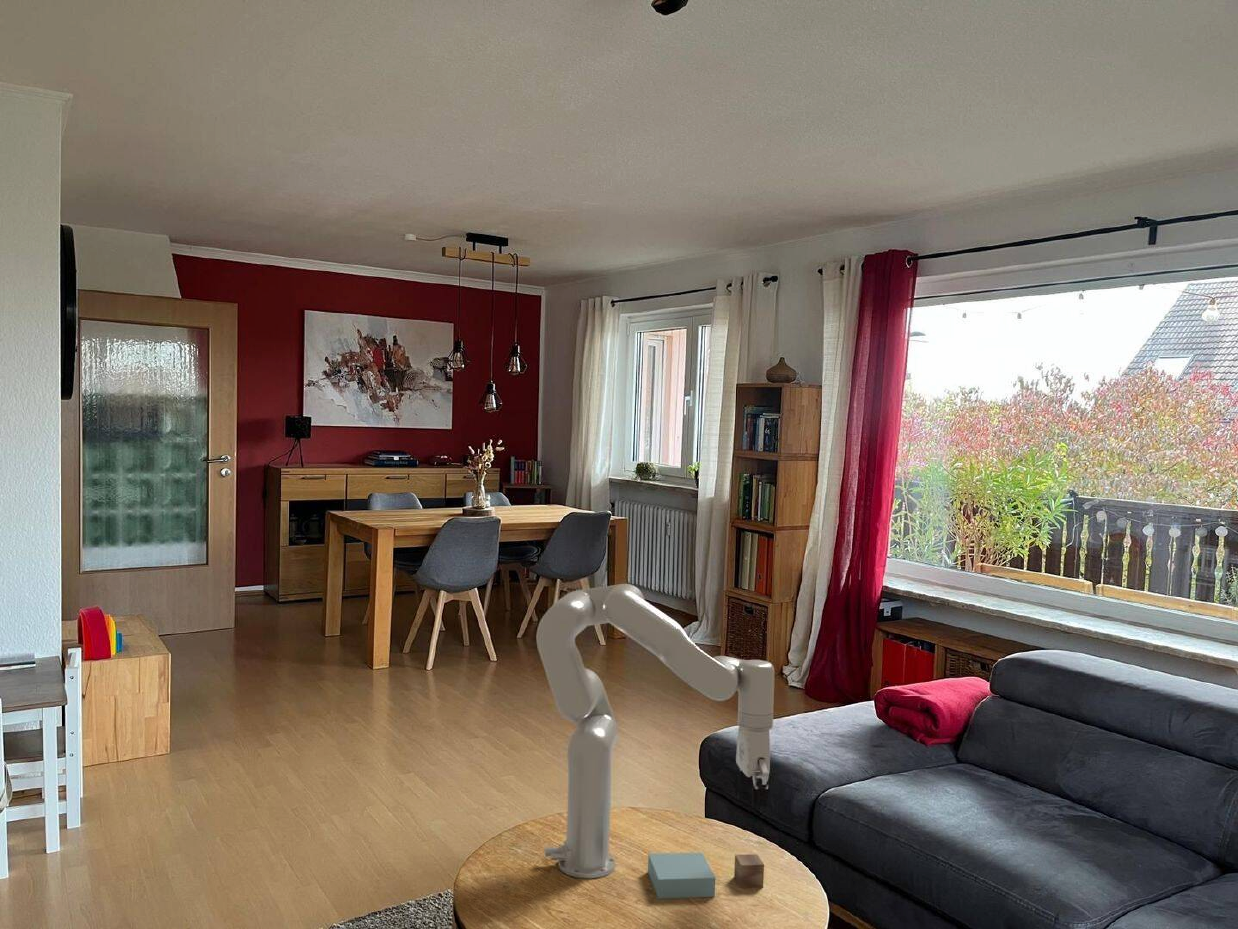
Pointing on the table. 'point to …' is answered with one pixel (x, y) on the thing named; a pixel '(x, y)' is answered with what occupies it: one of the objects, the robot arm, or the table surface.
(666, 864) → the plinth block
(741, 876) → the walnut cube
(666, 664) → the robot arm
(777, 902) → the table surface
